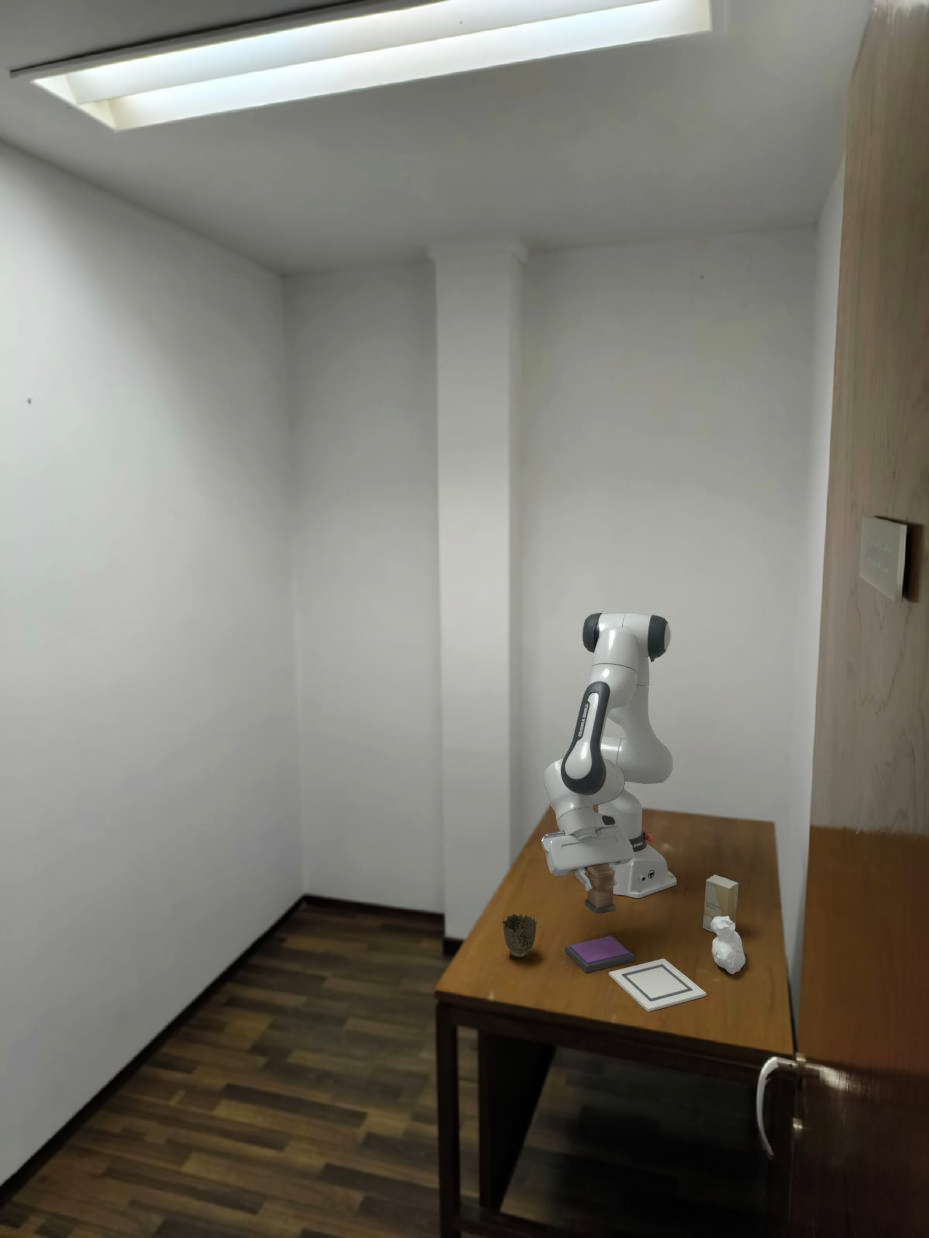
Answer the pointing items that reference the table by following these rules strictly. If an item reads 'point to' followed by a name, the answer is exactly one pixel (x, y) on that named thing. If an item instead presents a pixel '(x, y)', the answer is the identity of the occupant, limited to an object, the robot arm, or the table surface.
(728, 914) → the skincare box
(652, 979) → the print card
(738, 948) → the bust
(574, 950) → the ink pad
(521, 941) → the cup
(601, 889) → the stamp
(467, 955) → the table surface
